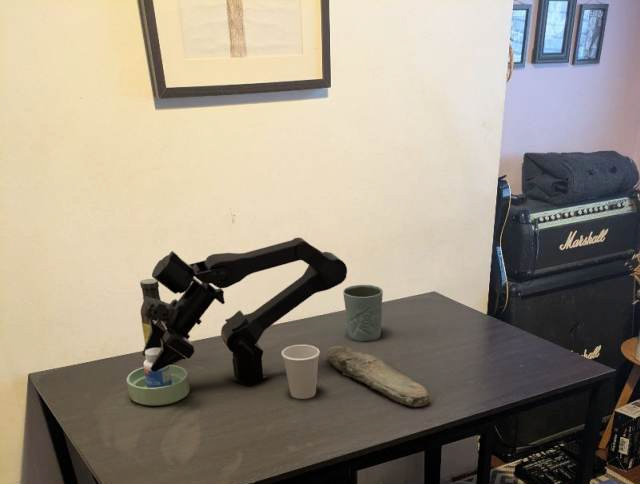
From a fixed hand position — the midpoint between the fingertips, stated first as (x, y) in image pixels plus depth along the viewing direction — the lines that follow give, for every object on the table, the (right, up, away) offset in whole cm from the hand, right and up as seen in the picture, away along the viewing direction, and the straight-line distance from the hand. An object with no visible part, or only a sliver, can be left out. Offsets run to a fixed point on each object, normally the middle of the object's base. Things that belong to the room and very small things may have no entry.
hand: (148, 362), depth 168 cm
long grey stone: (+49, -2, +11) cm, 51 cm away
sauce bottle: (-3, +4, +20) cm, 20 cm away
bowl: (+1, -6, +5) cm, 8 cm away
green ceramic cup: (+46, +14, +35) cm, 60 cm away
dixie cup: (+33, -6, +6) cm, 34 cm away
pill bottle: (+1, -6, +5) cm, 8 cm away
